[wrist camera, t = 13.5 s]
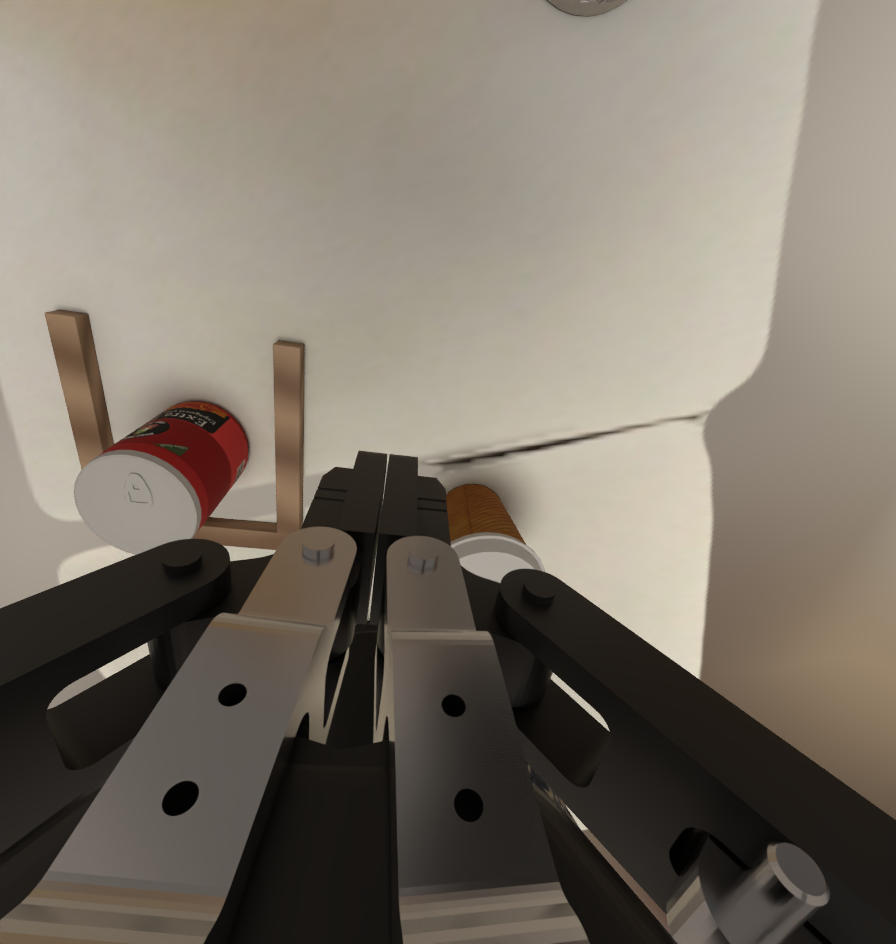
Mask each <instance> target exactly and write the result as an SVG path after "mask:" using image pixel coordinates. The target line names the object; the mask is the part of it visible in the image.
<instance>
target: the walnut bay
mask: <svg viewBox="0 0 896 944" xmlns="http://www.w3.org/2000/svg"><path fill="white" fill-rule="evenodd" d="M45 317H46V321H47V325H48V330H49V334H50V338H51V342H52V346H53V351H54V355H55V359H56V363H57V367H58V372H59V376H60V380H61V384H62V389H63V393H64V397H65V401H66V405H67V410H68V414H69V418H70V422H71V426H72V431H73V435H74V439H75V443H76V448H77V452H78V456H79V460H80V464H81V469H83V468H84V467H85V466H86V465H87V464H88V463H89V462H90V461H91V460H93V459H94V458H95V457H97V456H98V455H100V454H101V453H103V452H104V451H105V450H107V449H108V448H110V447H111V446H113V445H114V444H113V439H112V434H111V429H110V423H109V418H108V413H107V408H106V403H105V398H104V393H103V388H102V383H101V378H100V373H99V367H98V362H97V357H96V352H95V347H94V342H93V337H92V332H91V327H90V322H89V317H88V314H85V313H78V312H71V311H64V310H56V311H51V312H46V313H45ZM273 362H274V409H275V456H276V500H277V501H276V502H277V523H266V522H256V521H245V520H234V519H224V518H213V517H209V518H208V519H207V520H206V522H205V523H204V524H203V526H202V527H201V528H200V529H199V530H198V532H197V533H196V534H195V536H194V537H193V538H192V539H207V540H211V541H214V542H217V543H219V544H221V545H225V546H236V547H248V548H259V549H271V550H277V548H278V547H279V545H280V543H281V542H282V541H283V539H284V538H285V537H287V536H288V535H290V534H291V533H293V532H295V531H297V530H300V529H301V527H302V525H303V442H304V344H300V343H293V342H286V341H277V342H276V343H274V344H273Z"/></svg>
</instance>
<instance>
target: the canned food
mask: <svg viewBox="0 0 896 944" xmlns="http://www.w3.org/2000/svg"><path fill="white" fill-rule="evenodd" d="M247 460H248V442H247V438H246V435H245V433H244V431H243V429H242V427H241V426H240V424H239V423H238V422H237V421H236V420H235V418H234V417H232V416H231V415H230V414H229V413H228V412H226V411H225V410H223V409H221V408H220V407H217V406H215V405H212V404H209V403H204V402H185V403H180V404H177V405H174V406H172V407H170V408H169V409H167V410H166V411H164V412H162V413H161V414H159V415H158V416H156V417H155V418H153V419H152V420H150V421H149V422H147V423H146V424H144V425H143V426H141V427H140V428H138V429H137V430H135V431H134V432H132V433H131V434H129V435H128V436H126V437H125V438H123V439H122V440H120V441H119V442H117V443H116V444H114V445H113V446H111V447H110V448H108V449H107V450H105V451H104V452H103V453H101V454H100V455H98V456H97V457H95V458H94V459H93V460H91V461H90V462H89V463H88V464H87V465H86V466H85V467H84V468H83V469H82V470H81V472H80V473H79V474H78V477H77V479H76V482H75V487H74V497H75V503H76V506H77V509H78V511H79V514H80V515H81V517H82V518H83V520H84V522H85V523H86V524H87V525H88V527H89V528H90V529H91V530H92V531H93V532H94V533H95V534H96V535H97V536H99V537H100V538H101V539H102V540H104V541H105V542H107V543H109V544H110V545H112V546H114V547H116V548H118V549H120V550H122V551H125V552H128V553H132V554H135V555H137V554H139V553H142V552H145V551H147V550H150V549H152V548H155V547H157V546H160V545H162V544H165V543H168V542H172V541H176V540H182V539H192V538H193V537H194V536H195V534H196V533H197V532H198V530H199V529H200V528H201V527H202V526H203V524H204V523H205V522H206V520H207V519H208V518H209V516H210V515H211V514H212V512H213V511H214V510H215V508H216V507H217V506H218V504H219V503H220V502H221V500H222V499H223V497H224V496H225V495H226V494H227V492H228V491H229V490H230V488H231V487H232V486H233V484H234V483H235V482H236V480H237V479H238V478H239V476H240V475H241V474H242V472H243V470H244V469H245V467H246V463H247Z"/></svg>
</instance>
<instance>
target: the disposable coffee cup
mask: <svg viewBox="0 0 896 944" xmlns="http://www.w3.org/2000/svg"><path fill="white" fill-rule="evenodd" d="M446 503H447V513H448V522H449V532H450V542H451V547H452V548H453V549H454V550H455V551H456V553H457V555H458V557H459V560H460V564H461V566H462V567H464V568H465V569H466V570H468V571H470V572H471V573H473V574H475V575H478V576H480V577H483V578H486V579H489V580H492V581H496V582H499V583H501V580H502V578H503V577H504V576H505V575H506V574H507V573H509V572H510V571H513V570H517V569H535V570H539V571H543V572H545V569H544V567H543V565H542V562H541V560H540V559H539V557H538V556H537V555H536V553H535V552H534V551H533V550H532V549H531V548H529V547H528V546H527V545H526V543H525V542H524V540H523V538H522V537H521V535H520V533H519V531H518V530H517V528H516V526H515V524H514V523H513V521H512V519H511V518H510V516H509V514H508V512H507V511H506V509H505V507H504V506H503V504H502V502H501V500H500V498H499V497H498V495H497V494H496V493H495V492H494V491H492V490H491V489H489V488H488V487H485V486H482V485H477V484H467V485H463V486H459V487H457V488H455V489H453V490H452V491H450V492H449V493H448V494H447V495H446Z"/></svg>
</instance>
